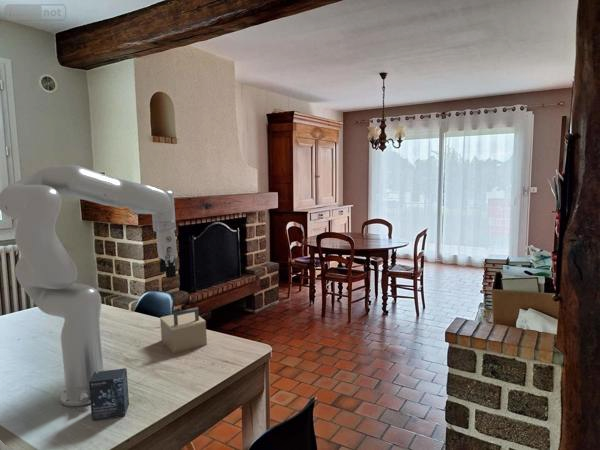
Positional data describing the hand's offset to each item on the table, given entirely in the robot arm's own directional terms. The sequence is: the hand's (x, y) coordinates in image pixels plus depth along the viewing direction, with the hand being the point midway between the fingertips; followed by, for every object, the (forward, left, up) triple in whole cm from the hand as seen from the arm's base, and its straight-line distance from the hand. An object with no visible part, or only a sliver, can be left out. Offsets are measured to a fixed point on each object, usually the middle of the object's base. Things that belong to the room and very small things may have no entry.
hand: (167, 274), depth 141 cm
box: (-32, +26, -27) cm, 49 cm away
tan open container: (0, -4, -26) cm, 27 cm away
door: (0, -4, -18) cm, 19 cm away
